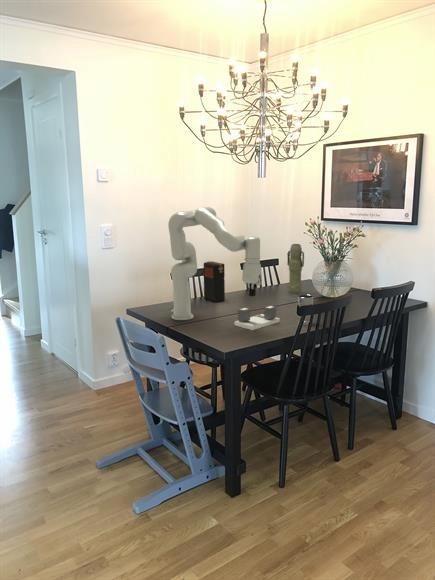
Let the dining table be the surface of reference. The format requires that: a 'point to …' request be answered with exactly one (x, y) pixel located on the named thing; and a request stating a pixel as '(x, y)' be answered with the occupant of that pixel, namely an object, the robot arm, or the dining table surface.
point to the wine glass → (305, 301)
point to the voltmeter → (214, 281)
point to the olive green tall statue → (295, 269)
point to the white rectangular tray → (256, 322)
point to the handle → (269, 312)
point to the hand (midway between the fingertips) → (252, 295)
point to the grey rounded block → (243, 314)
